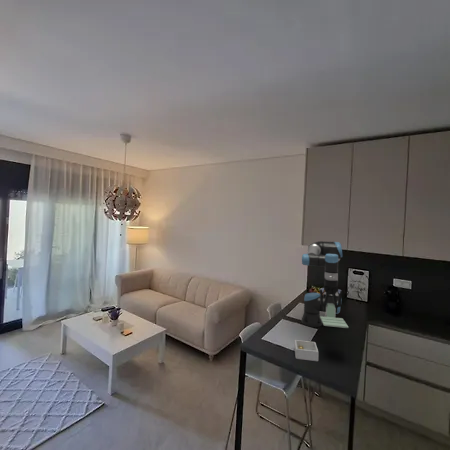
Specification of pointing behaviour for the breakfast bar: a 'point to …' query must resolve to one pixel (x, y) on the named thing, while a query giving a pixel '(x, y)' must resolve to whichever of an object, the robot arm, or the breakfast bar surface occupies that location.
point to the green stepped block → (332, 318)
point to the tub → (306, 350)
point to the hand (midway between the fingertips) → (330, 317)
